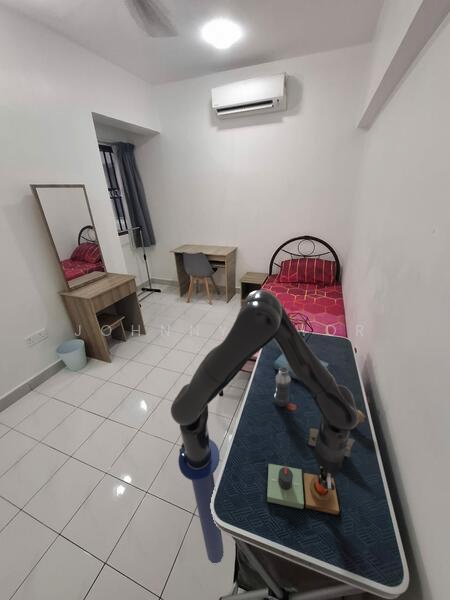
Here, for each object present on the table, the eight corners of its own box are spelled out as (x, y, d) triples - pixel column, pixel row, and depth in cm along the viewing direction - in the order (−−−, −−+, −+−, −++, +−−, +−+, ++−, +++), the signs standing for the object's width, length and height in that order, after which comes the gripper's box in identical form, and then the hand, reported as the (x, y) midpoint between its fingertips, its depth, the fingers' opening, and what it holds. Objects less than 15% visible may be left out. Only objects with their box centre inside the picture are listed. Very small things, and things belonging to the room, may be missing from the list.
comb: (307, 447, 91) (309, 430, 86) (307, 441, 93) (310, 424, 88) (350, 460, 86) (355, 443, 81) (349, 454, 88) (354, 436, 83)
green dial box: (267, 501, 76) (267, 496, 75) (268, 468, 85) (268, 463, 84) (303, 509, 74) (304, 504, 73) (300, 474, 83) (301, 469, 81)
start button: (315, 493, 74) (316, 490, 74) (314, 481, 78) (314, 477, 77) (327, 496, 74) (328, 493, 73) (326, 483, 77) (326, 480, 76)
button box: (305, 507, 74) (306, 501, 72) (303, 476, 82) (304, 469, 80) (338, 514, 72) (340, 508, 70) (332, 481, 80) (334, 475, 78)
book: (327, 371, 126) (328, 363, 123) (314, 389, 115) (316, 382, 113) (288, 354, 139) (288, 347, 137) (273, 369, 129) (274, 362, 127)
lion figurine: (363, 427, 97) (368, 412, 93) (356, 435, 94) (361, 420, 90) (330, 403, 107) (333, 389, 103) (323, 410, 105) (326, 395, 101)
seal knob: (292, 491, 76) (293, 483, 74) (278, 488, 77) (278, 480, 74) (291, 476, 80) (292, 467, 77) (278, 473, 80) (278, 465, 78)
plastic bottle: (275, 395, 113) (277, 362, 104) (290, 400, 110) (293, 367, 102) (272, 406, 108) (273, 372, 99) (287, 411, 105) (290, 377, 96)
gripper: (313, 423, 73) (306, 457, 81) (319, 470, 61) (311, 504, 69) (339, 427, 71) (330, 461, 79) (350, 476, 60) (339, 510, 68)
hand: (321, 481), depth 74 cm, fingers closed
